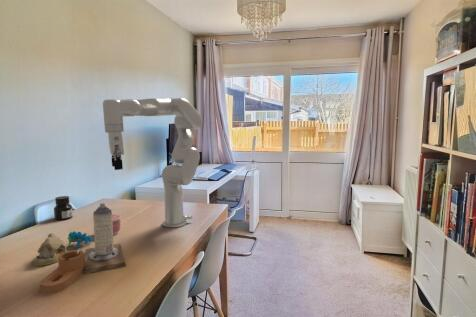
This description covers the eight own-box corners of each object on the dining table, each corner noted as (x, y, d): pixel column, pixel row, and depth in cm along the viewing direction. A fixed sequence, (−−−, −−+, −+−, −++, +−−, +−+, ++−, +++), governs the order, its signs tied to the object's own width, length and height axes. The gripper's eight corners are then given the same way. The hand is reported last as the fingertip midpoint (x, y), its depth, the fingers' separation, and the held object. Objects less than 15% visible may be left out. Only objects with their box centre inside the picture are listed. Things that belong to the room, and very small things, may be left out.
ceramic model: (44, 251, 133) (42, 229, 132) (72, 249, 135) (71, 227, 134) (28, 267, 119) (26, 241, 118) (60, 264, 121) (59, 239, 120)
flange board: (120, 246, 138) (120, 240, 138) (125, 265, 120) (125, 258, 120) (85, 252, 132) (84, 245, 132) (84, 273, 114) (84, 265, 114)
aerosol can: (116, 249, 129) (114, 201, 127) (109, 256, 122) (107, 206, 120) (99, 248, 129) (97, 201, 127) (91, 256, 123) (89, 206, 120)
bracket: (67, 267, 119) (66, 249, 118) (89, 267, 119) (88, 250, 118) (35, 293, 101) (33, 273, 100) (60, 294, 101) (58, 273, 100)
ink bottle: (66, 220, 173) (65, 199, 172) (50, 220, 173) (49, 199, 172) (76, 215, 183) (74, 195, 181) (60, 215, 183) (59, 195, 182)
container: (113, 238, 148) (112, 221, 147) (93, 236, 150) (92, 220, 149) (125, 230, 159) (124, 214, 158) (106, 228, 161) (106, 213, 160)
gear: (97, 239, 142) (83, 229, 135) (93, 251, 139) (78, 242, 131) (77, 240, 145) (62, 230, 138) (72, 252, 141) (56, 243, 134)
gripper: (126, 129, 130) (129, 170, 132) (120, 127, 145) (123, 164, 148) (106, 130, 126) (110, 171, 129) (103, 128, 142) (106, 165, 144)
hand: (117, 167), depth 138 cm, fingers open, 9 cm apart
